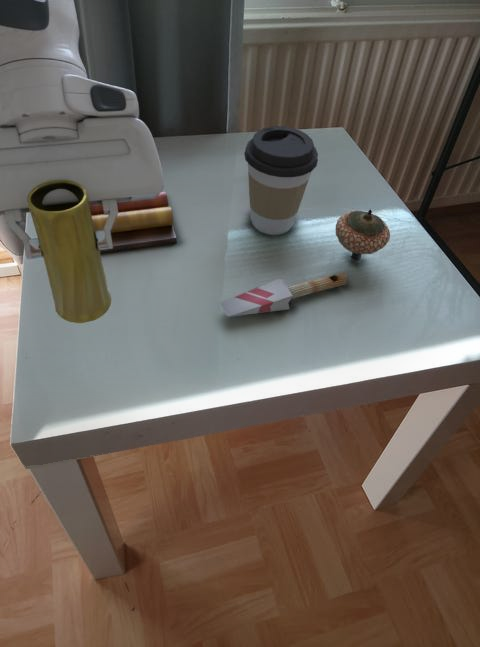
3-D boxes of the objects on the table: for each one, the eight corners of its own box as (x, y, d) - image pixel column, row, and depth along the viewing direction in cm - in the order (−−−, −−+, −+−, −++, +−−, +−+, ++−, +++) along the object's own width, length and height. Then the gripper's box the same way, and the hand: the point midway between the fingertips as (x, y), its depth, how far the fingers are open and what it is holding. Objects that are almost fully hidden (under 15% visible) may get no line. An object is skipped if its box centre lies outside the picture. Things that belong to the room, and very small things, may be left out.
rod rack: (87, 254, 78) (83, 234, 75) (81, 208, 85) (76, 188, 82) (176, 242, 81) (176, 222, 78) (162, 199, 89) (161, 179, 86)
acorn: (318, 252, 82) (330, 201, 74) (356, 237, 85) (371, 186, 78) (351, 284, 78) (367, 232, 70) (390, 266, 81) (409, 215, 73)
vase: (45, 300, 56) (9, 191, 45) (93, 276, 59) (71, 169, 48) (72, 333, 53) (42, 225, 43) (122, 307, 56) (105, 199, 46)
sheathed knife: (219, 292, 70) (339, 264, 77) (217, 306, 72) (335, 277, 79) (229, 311, 68) (353, 280, 75) (228, 325, 70) (348, 294, 77)
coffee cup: (279, 195, 92) (291, 116, 80) (318, 230, 86) (336, 150, 74) (226, 213, 87) (230, 131, 76) (263, 251, 81) (274, 169, 70)
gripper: (-86, 105, 43) (-54, 266, 44) (152, 91, 48) (175, 237, 49) (-62, 129, 49) (-34, 269, 51) (147, 114, 54) (168, 243, 55)
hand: (71, 253), depth 50 cm, fingers closed on vase, 5 cm apart
